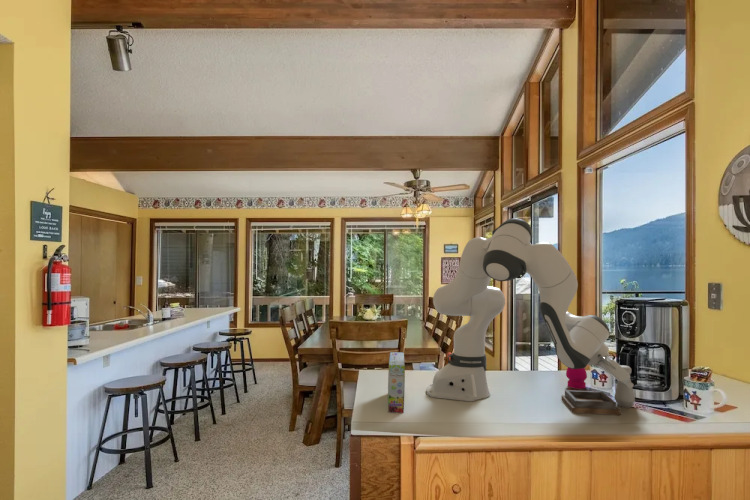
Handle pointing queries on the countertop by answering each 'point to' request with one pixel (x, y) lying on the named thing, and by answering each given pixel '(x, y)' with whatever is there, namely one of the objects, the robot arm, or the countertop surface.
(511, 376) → the countertop surface
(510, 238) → the robot arm
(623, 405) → the salt shaker
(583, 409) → the tray
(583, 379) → the pepper mill
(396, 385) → the snack box
